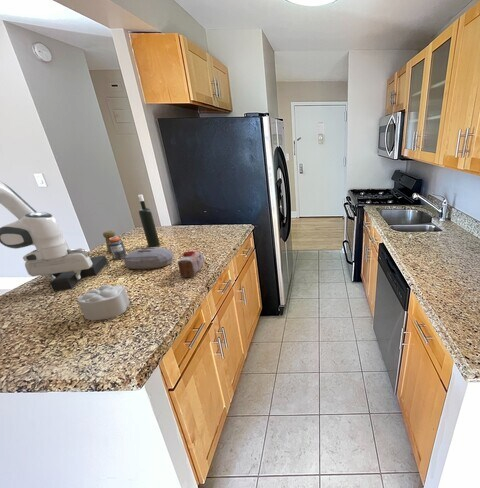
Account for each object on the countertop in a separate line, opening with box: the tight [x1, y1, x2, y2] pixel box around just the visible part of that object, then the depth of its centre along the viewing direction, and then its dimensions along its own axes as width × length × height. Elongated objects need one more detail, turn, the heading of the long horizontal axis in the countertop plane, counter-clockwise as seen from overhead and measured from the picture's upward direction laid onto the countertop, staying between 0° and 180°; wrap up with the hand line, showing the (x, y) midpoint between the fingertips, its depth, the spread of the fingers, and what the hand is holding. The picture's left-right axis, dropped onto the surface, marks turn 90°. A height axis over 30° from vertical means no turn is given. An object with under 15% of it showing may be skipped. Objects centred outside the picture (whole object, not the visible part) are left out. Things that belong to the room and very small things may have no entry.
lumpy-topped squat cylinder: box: [76, 284, 131, 321], centre depth 93 cm, size 10×13×9 cm
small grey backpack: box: [123, 246, 174, 270], centre depth 128 cm, size 15×8×20 cm
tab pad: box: [49, 271, 84, 292], centre depth 113 cm, size 6×13×4 cm, turn 20°
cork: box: [102, 230, 116, 253], centre depth 145 cm, size 6×6×11 cm
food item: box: [177, 249, 205, 278], centre depth 121 cm, size 14×8×10 cm, turn 8°
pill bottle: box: [108, 236, 128, 261], centre depth 135 cm, size 6×6×11 cm
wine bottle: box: [137, 194, 161, 248], centre depth 147 cm, size 6×6×30 cm
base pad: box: [53, 255, 109, 278], centre depth 122 cm, size 16×14×4 cm
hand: (67, 280), depth 112 cm, fingers closed on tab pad, 6 cm apart
